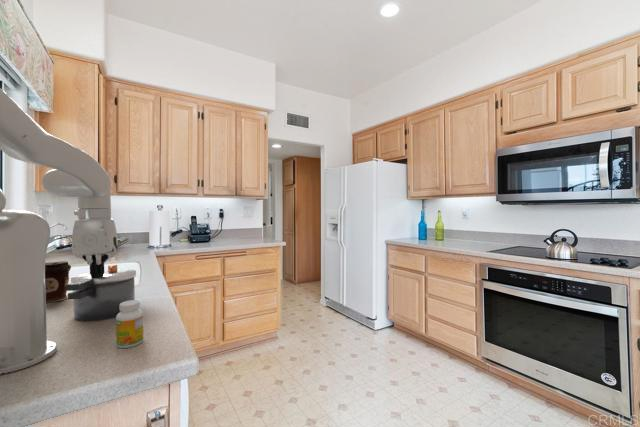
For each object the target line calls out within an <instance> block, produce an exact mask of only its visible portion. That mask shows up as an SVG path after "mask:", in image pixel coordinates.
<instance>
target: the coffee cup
mask: <svg viewBox="0 0 640 427" xmlns="http://www.w3.org/2000/svg"><path fill="white" fill-rule="evenodd" d="M71 268H72V266H71V264H69V261H67V260H66V261H63V260H62V261H54V262H53V261H52V262H51V261H50V262H49V261H48V262H45V290H46V303H53V302H60V301H65V300H68V295H67V293H68V291H66V285H67V284H69V283H70V275H69V274H70V270H71Z"/></svg>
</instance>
